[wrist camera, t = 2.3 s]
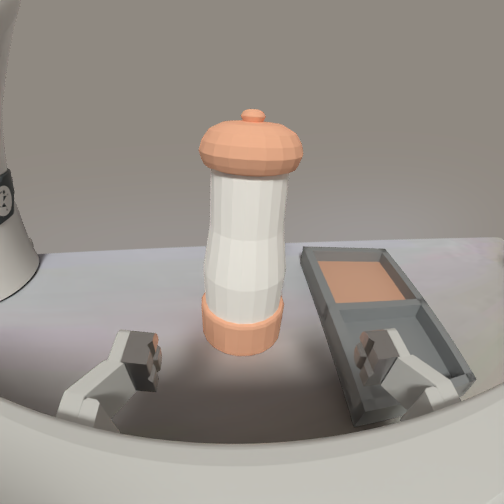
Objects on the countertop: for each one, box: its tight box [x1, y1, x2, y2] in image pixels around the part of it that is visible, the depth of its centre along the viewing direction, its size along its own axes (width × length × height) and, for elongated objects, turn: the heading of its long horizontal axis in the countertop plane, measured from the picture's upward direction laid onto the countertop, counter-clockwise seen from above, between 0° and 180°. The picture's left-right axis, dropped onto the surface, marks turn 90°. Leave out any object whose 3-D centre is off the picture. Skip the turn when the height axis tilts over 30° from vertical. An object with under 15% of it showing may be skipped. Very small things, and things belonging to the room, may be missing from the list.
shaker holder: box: [300, 247, 477, 427], centre depth 28 cm, size 12×23×2 cm, turn 3°
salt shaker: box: [199, 109, 303, 356], centre depth 22 cm, size 7×7×19 cm
